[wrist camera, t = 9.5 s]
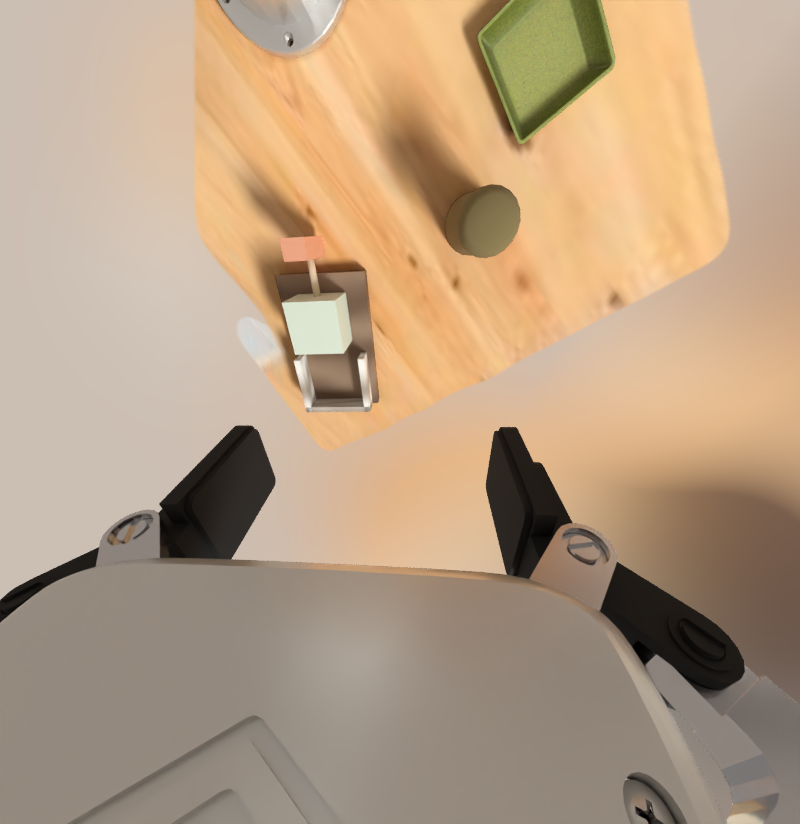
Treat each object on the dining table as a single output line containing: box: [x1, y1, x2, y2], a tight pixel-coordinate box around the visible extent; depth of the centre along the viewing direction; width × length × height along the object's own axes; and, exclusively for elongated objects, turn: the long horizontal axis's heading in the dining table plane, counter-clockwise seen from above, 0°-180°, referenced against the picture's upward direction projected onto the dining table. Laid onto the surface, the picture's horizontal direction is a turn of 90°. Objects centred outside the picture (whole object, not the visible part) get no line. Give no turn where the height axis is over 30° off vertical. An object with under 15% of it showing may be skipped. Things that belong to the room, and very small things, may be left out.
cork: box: [445, 184, 520, 258], centre depth 28 cm, size 6×6×11 cm
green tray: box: [477, 0, 615, 144], centre depth 25 cm, size 9×9×2 cm
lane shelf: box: [275, 270, 379, 412], centre depth 39 cm, size 18×11×4 cm, turn 3°
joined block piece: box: [279, 236, 352, 355], centre depth 33 cm, size 12×6×6 cm, turn 3°
